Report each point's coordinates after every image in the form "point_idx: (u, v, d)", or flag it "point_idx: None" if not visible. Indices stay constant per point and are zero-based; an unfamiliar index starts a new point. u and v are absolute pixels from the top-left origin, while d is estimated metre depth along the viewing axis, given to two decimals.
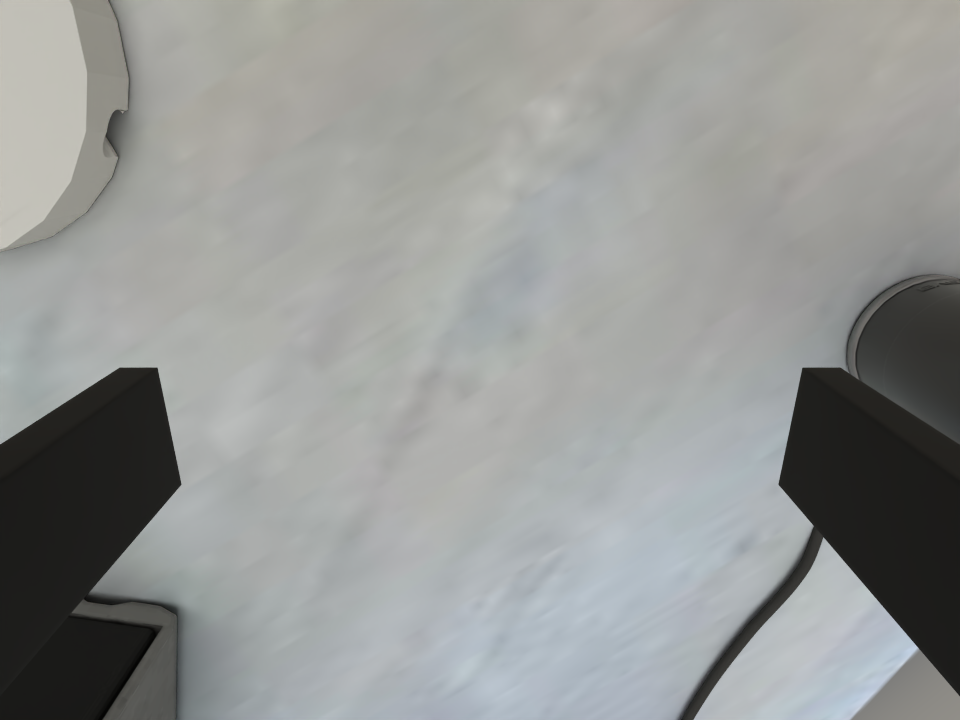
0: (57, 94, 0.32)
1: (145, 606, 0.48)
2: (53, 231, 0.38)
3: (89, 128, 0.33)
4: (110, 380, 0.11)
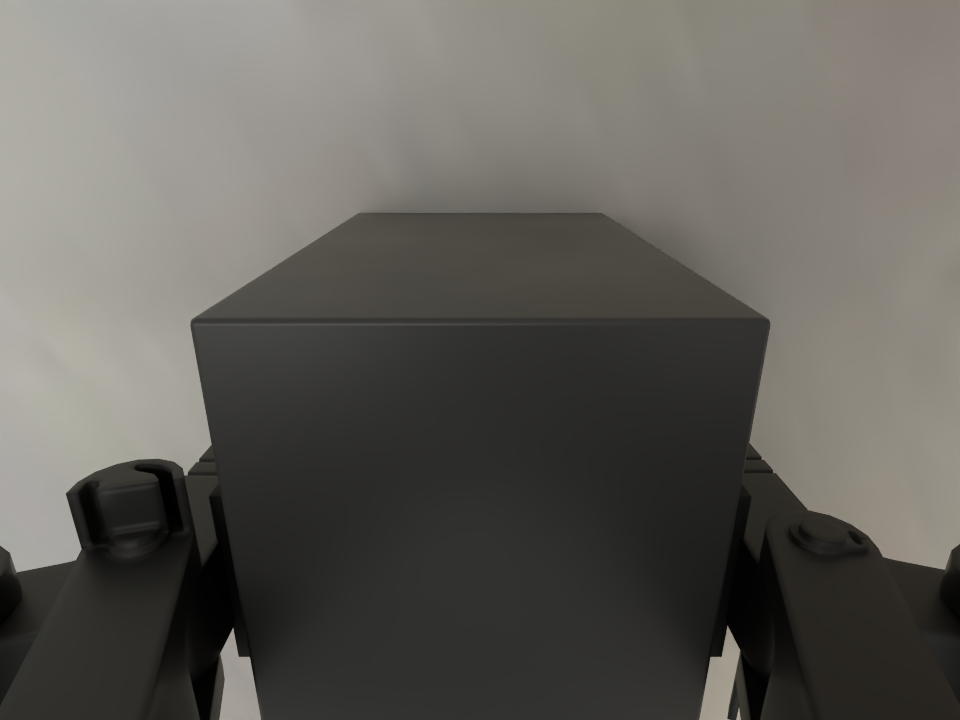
0: None
1: None
2: None
3: None
4: None
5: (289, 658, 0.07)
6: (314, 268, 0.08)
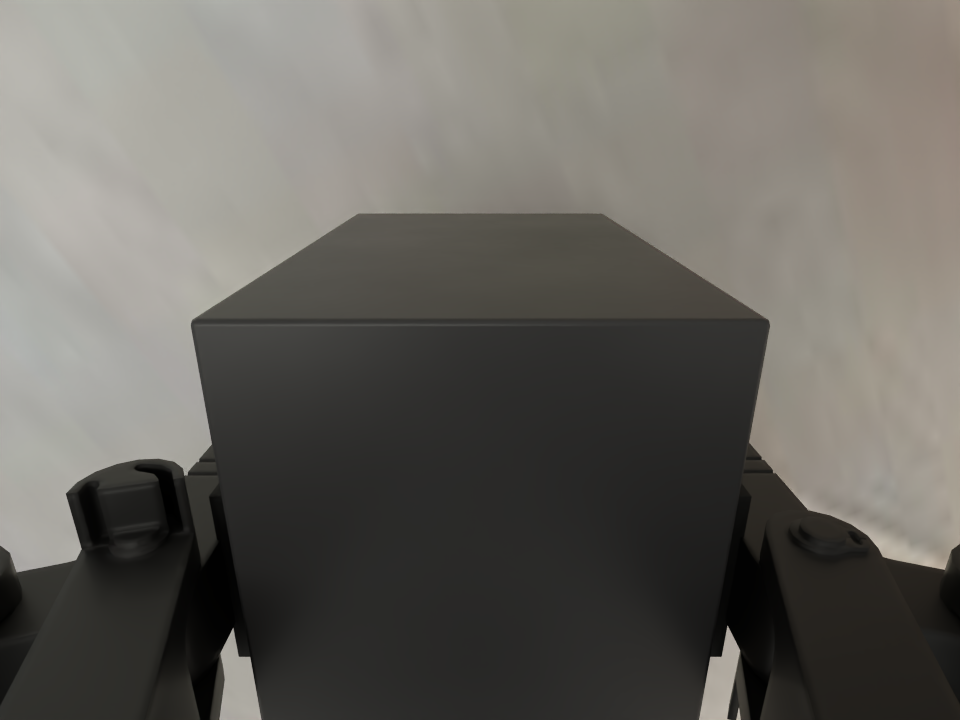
0: None
1: None
2: None
3: None
4: None
5: (290, 659, 0.07)
6: (314, 269, 0.08)
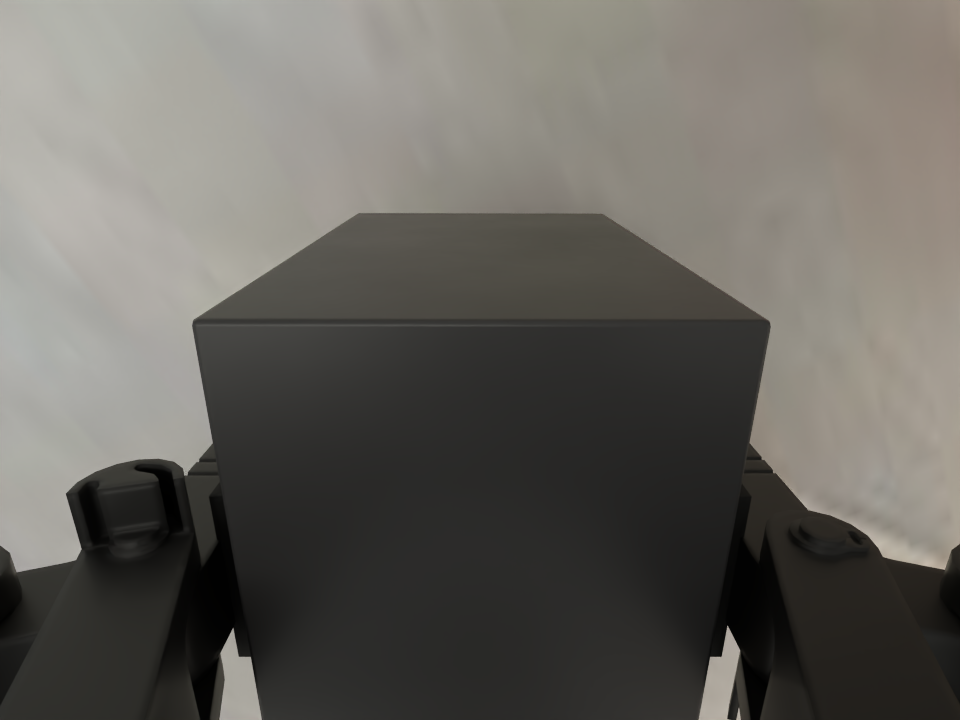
0: None
1: None
2: None
3: None
4: None
5: (289, 659, 0.07)
6: (315, 268, 0.08)
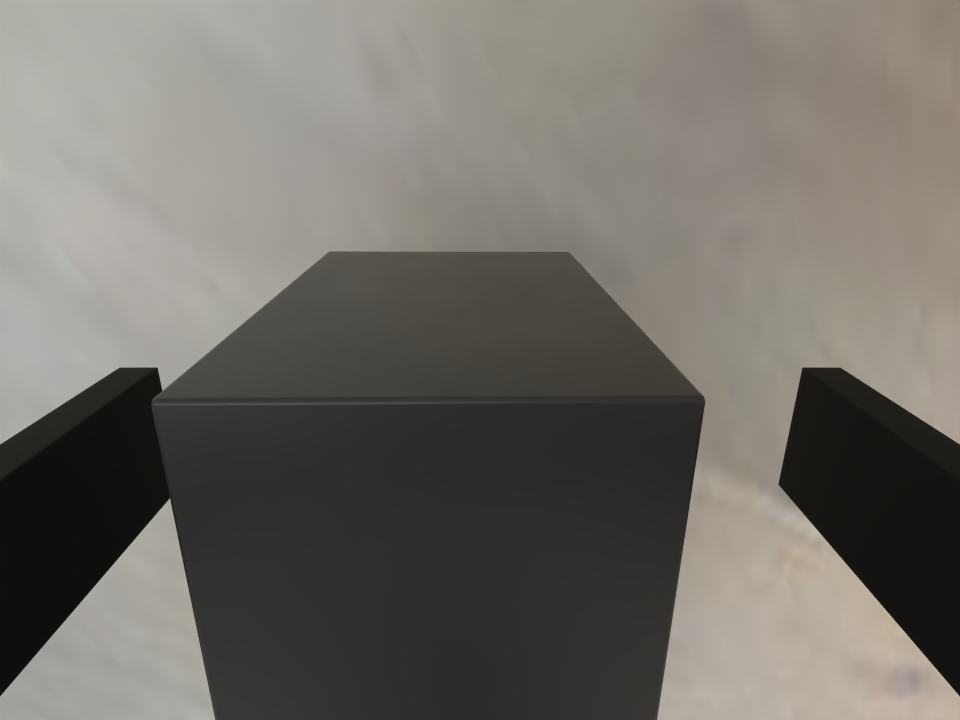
0: None
1: None
2: None
3: None
4: (110, 380, 0.11)
5: (253, 715, 0.07)
6: (278, 329, 0.08)
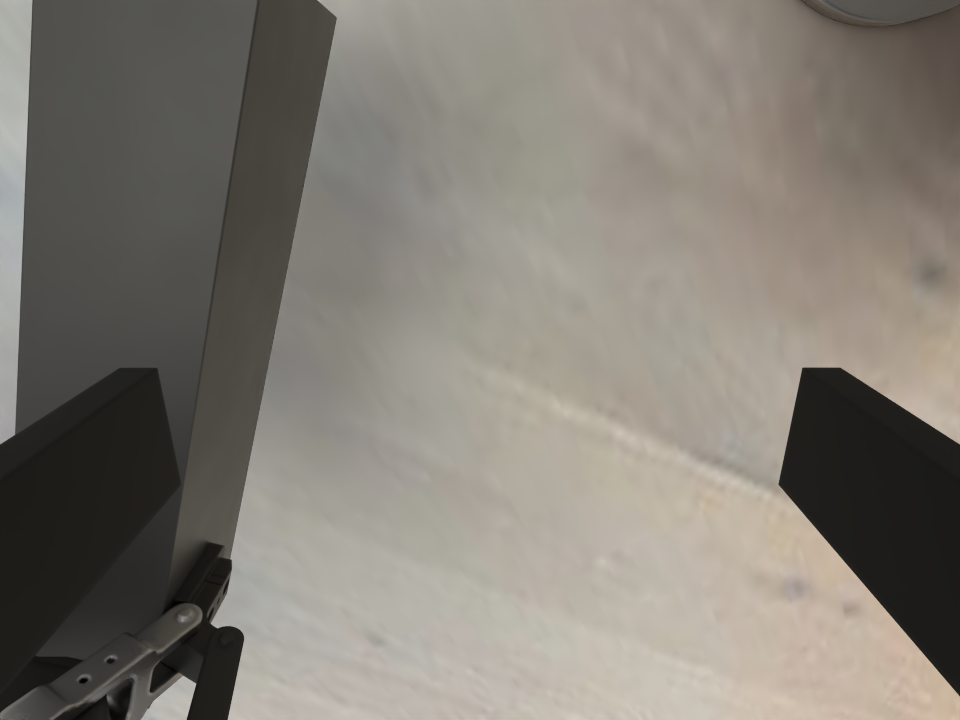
0: None
1: None
2: None
3: None
4: (110, 380, 0.11)
5: (48, 67, 0.16)
6: None
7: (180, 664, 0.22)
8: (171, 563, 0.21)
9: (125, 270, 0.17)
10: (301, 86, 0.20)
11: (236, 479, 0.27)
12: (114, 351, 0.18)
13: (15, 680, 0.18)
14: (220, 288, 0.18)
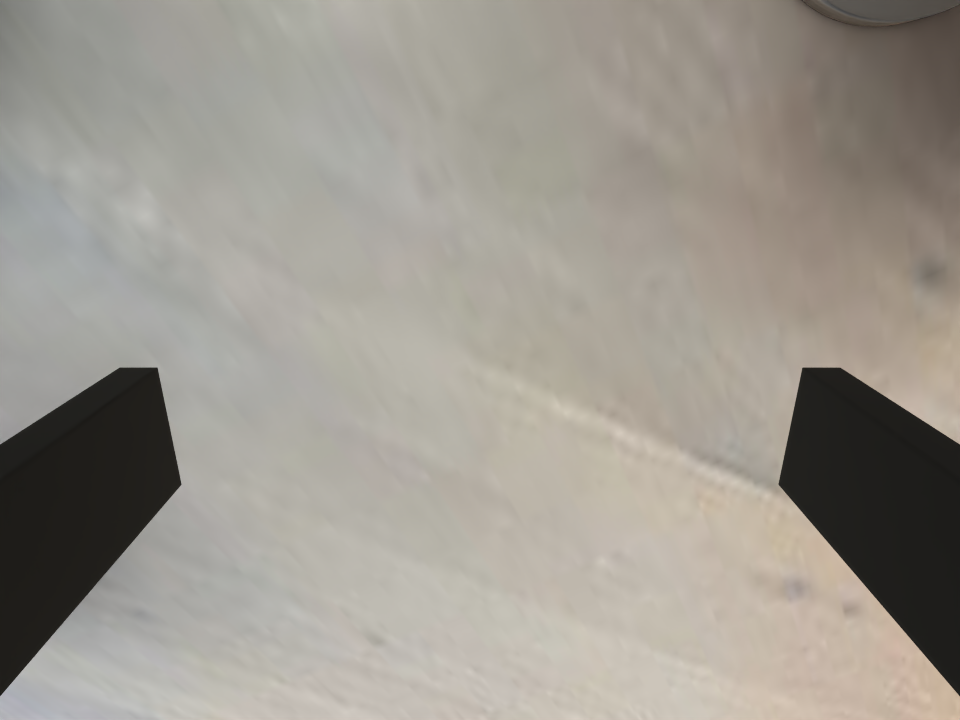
0: None
1: None
2: None
3: None
4: (110, 380, 0.11)
5: None
6: None
7: None
8: None
9: None
10: None
11: None
12: None
13: None
14: None
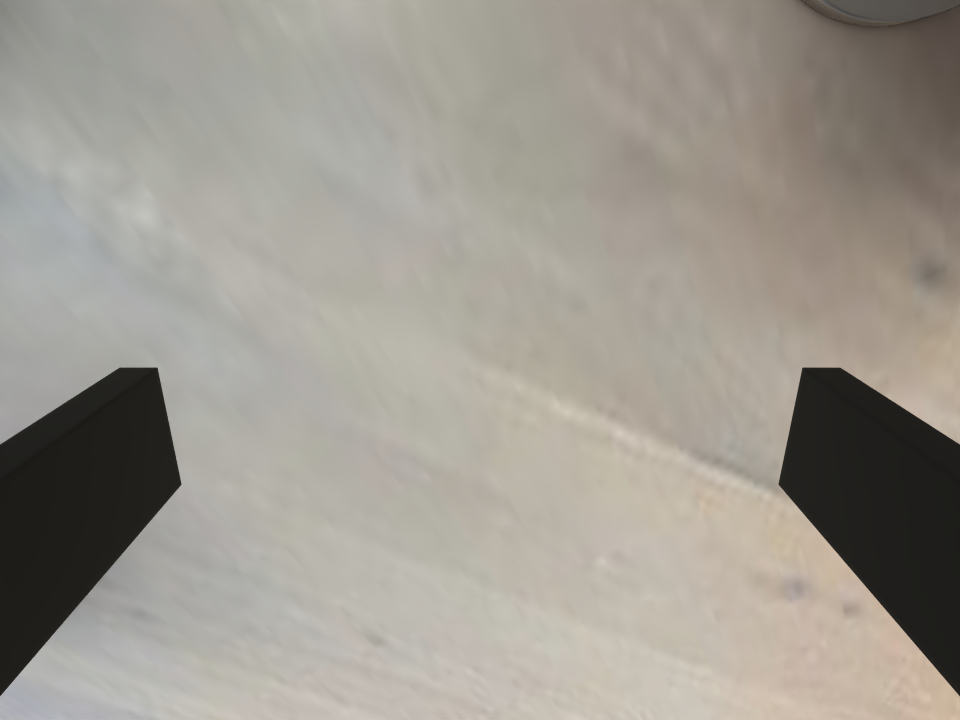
0: None
1: None
2: None
3: None
4: (110, 380, 0.11)
5: None
6: None
7: None
8: None
9: None
10: None
11: None
12: None
13: None
14: None
